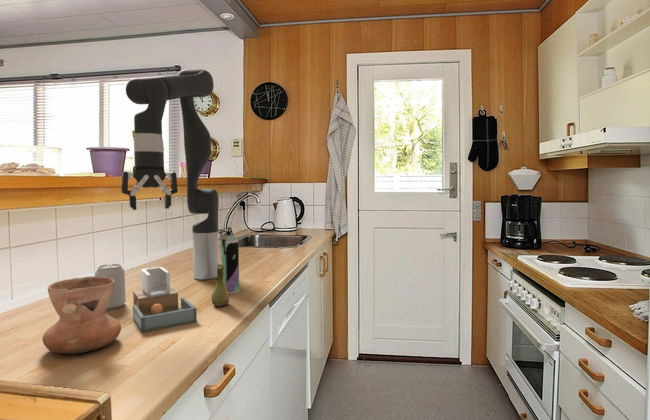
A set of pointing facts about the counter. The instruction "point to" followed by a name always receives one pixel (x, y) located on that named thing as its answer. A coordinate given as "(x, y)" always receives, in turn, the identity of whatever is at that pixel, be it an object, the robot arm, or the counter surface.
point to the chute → (155, 281)
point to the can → (119, 286)
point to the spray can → (230, 262)
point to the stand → (155, 301)
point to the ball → (156, 309)
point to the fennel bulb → (220, 289)
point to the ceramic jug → (81, 315)
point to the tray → (165, 317)
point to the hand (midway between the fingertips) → (150, 209)
